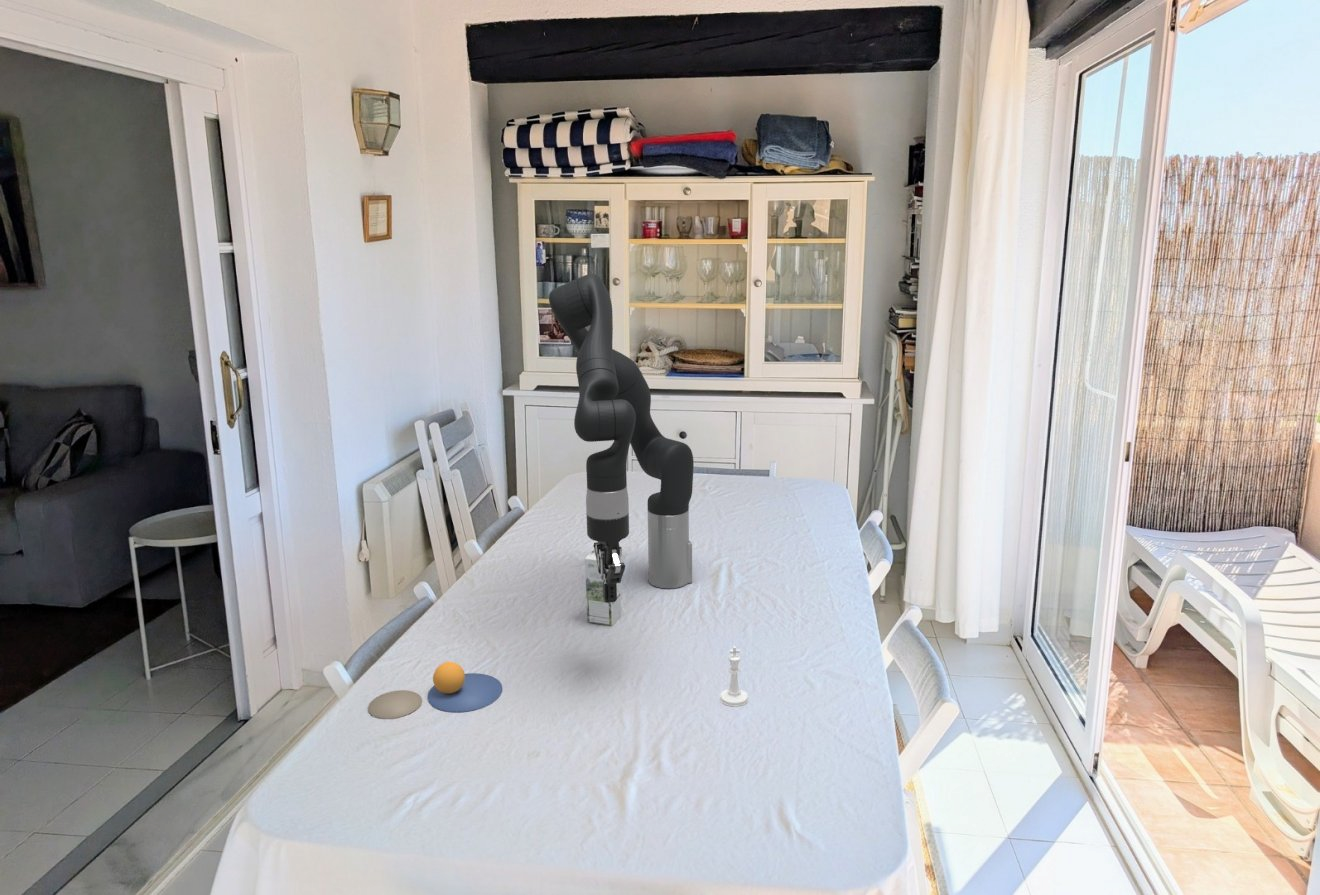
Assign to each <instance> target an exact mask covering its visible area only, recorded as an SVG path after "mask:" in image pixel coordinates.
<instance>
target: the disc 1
mask: <svg viewBox="0 0 1320 895" xmlns="http://www.w3.org/2000/svg"><path fill="white" fill-rule="evenodd" d="M422 703H423V698H422V696H421V695H420V694H419V693H417V692H415V691H412V690H407V689H405V690H403V689H401V690H392V691H389V692H388V691H387V692H384V693H382V694H380V695H378V696H376V697H375V698H373V699H372V700H371V701H370V702H369V703H368V706H367V711H368V713H369V715H371V716H372V717H374V718H377V719H381V720H382V719H383V720H393V719H395V720H396V719H399V718H400V719H401V718H403V717H404V718H405V717H406V716H408V715H411V714H412V713H414V712H416V711H417V710H419V708H420V707H421V705H422Z"/></svg>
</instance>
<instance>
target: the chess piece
mask: <svg viewBox="0 0 1320 895" xmlns="http://www.w3.org/2000/svg"><path fill="white" fill-rule="evenodd" d="M729 654H730V655H729V656H728V661H729V664H730V666H729V667H728V669H727V671H728V673H730V674H731V676H730V682H729V687H728V688H726V689H724V690H723V691H721V692H720V696H719V701H720V702H721V703H722V704H723V705H726V706H728V707H736V708H737V707H742V706H744V705H746V704H747V703H748V702H749V695H748V693H747V692H746V691H745V690H743V689H741V688H740V686H739V679H738V677H739V676H738V674H739V673H741V672H742V671H741V668H740V667H739V663H740V661H741V656H740V655H738V654H740V649H737V647H736V646H735V645H733V646H732V649H729Z"/></svg>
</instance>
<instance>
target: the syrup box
mask: <svg viewBox="0 0 1320 895" xmlns="http://www.w3.org/2000/svg"><path fill="white" fill-rule="evenodd" d="M584 568H585V569H584V572H585V595H586V597H585V598H586V600H585V601H586V620H587V623H590V624H596V625H604V626H611V627H612V626H614V624H616V622H617V621H618V620H619V619H620V618H621V616H622V615H623V613H622V595H621V594H622V592H621V591H622V588H621V583H622V582H621V583H617V600H616V601H615V602H609V603H607V602H605V600H604V598H603V581H602V579H601V574H599V572H598V565H597V560H596V555H595V550H594V549H593V550H592V551H590V552H589V553H588V554H587V556H586V557H585V558H584Z"/></svg>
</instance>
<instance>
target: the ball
mask: <svg viewBox="0 0 1320 895" xmlns="http://www.w3.org/2000/svg"><path fill="white" fill-rule="evenodd" d="M465 674H466V673H465V671H464V668H463V667H462V666H461V665H460V664H458V663H457V662H454V661H445V662H443V663H441V664H439V665H438V666H437V667H436V668H435V670H434V671H433V676H432V682H433V686H434V685H435V687H436V688H437V689H438V690H439V691H440V692H442V693H445V694H451V693H454V692H456V691H458V690H459V689H460V688H461V687H462V685H463V683H464V680H465Z"/></svg>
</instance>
